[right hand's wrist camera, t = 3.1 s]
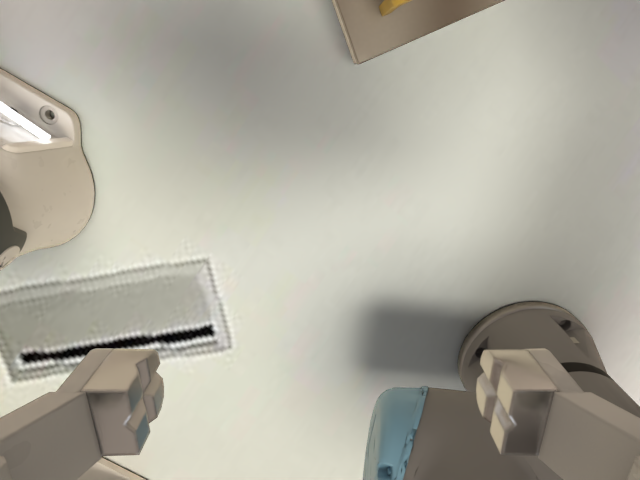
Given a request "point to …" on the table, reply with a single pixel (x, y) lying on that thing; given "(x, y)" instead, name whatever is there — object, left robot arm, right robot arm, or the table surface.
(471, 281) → the table surface
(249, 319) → the table surface
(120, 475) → the tablet stand
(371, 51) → the lid
